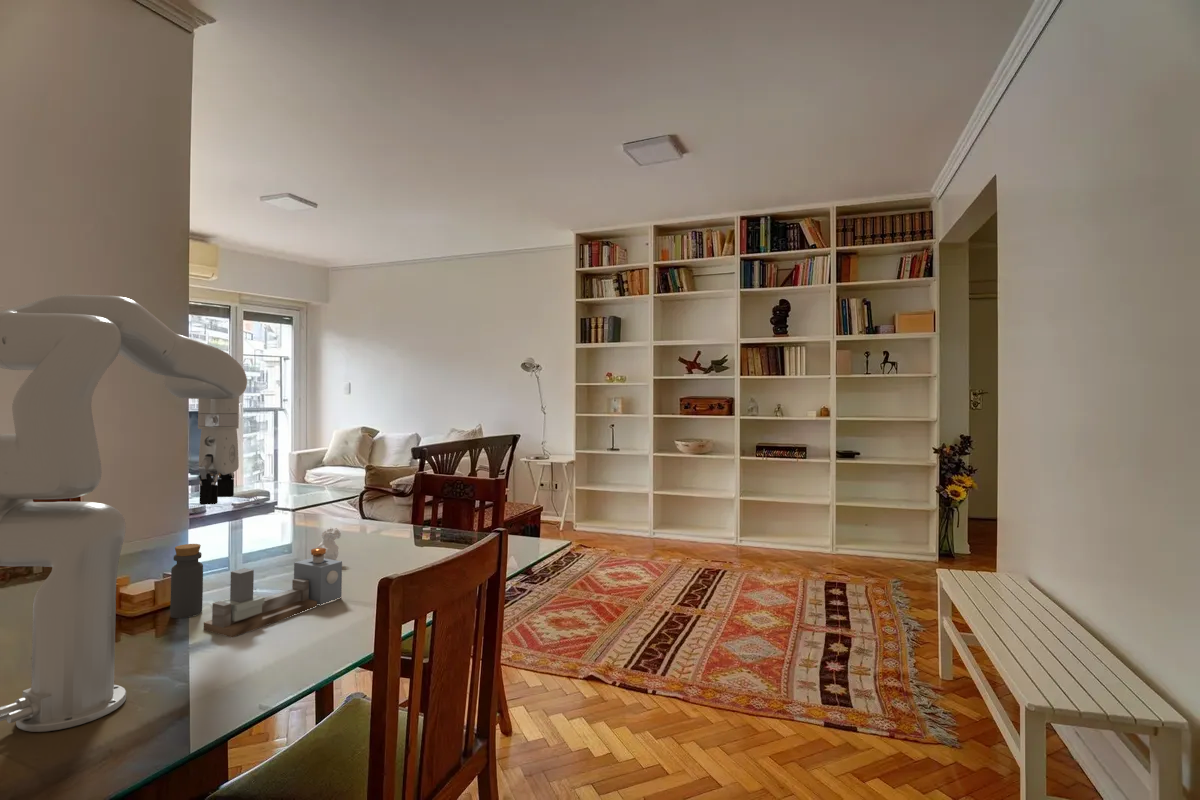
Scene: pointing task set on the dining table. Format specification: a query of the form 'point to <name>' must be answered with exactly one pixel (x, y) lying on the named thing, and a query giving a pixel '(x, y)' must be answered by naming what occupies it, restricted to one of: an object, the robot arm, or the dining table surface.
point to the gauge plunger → (318, 555)
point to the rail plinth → (261, 619)
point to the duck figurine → (330, 543)
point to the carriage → (243, 595)
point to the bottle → (186, 582)
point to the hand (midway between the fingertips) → (217, 500)
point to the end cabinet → (321, 578)
